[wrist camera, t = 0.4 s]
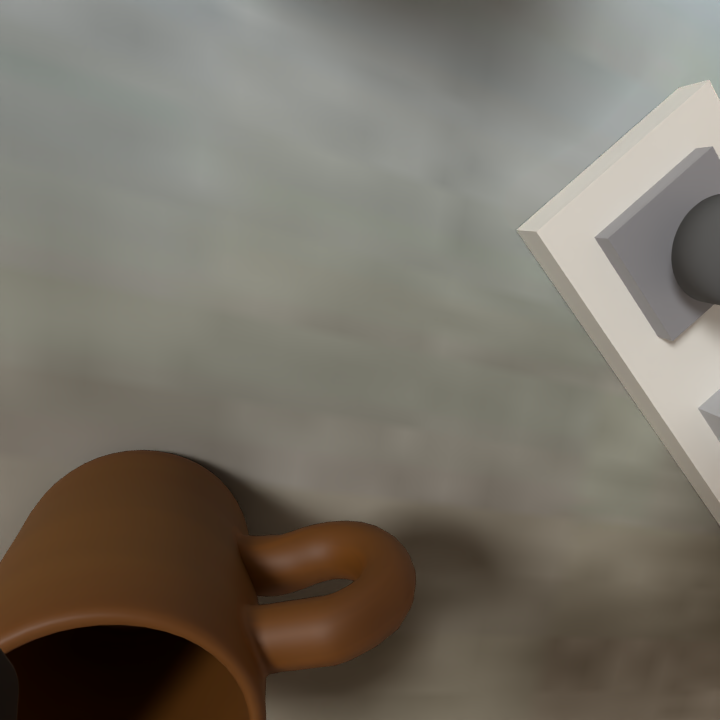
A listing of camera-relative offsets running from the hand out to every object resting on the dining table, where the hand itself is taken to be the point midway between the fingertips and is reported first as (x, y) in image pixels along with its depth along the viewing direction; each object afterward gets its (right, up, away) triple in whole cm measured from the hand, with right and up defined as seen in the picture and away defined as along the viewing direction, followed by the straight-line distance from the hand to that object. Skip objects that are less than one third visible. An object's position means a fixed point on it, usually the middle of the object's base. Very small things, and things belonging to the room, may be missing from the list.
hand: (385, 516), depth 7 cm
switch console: (+17, 0, +20) cm, 26 cm away
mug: (-6, -4, +16) cm, 17 cm away
